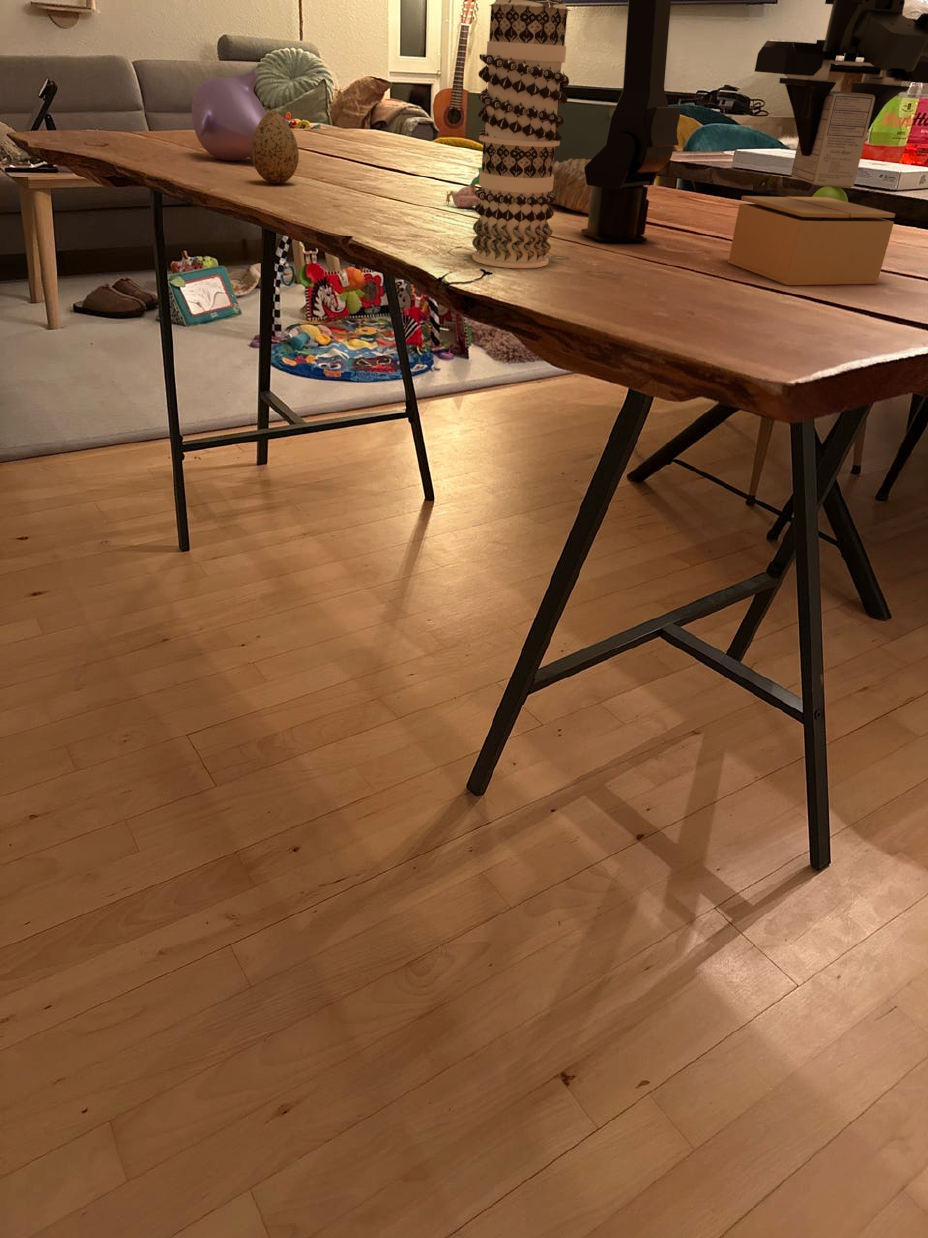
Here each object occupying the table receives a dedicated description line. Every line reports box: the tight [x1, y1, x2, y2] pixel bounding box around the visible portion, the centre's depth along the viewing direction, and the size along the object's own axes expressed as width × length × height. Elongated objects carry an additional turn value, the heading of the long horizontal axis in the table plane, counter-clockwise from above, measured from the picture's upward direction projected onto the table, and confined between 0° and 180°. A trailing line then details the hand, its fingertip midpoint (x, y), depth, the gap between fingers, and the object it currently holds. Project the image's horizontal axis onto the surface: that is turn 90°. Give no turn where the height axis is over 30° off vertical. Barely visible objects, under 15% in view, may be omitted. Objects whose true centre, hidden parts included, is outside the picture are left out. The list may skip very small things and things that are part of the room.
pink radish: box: [445, 166, 482, 209], centre depth 131 cm, size 6×6×15 cm
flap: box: [741, 195, 849, 218], centre depth 102 cm, size 6×12×1 cm, turn 18°
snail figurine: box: [811, 137, 868, 202], centre depth 136 cm, size 5×6×12 cm
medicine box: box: [790, 90, 875, 189], centre depth 99 cm, size 8×4×9 cm, turn 1°
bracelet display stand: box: [471, 0, 572, 269], centre depth 97 cm, size 9×9×25 cm
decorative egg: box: [251, 110, 300, 185], centre depth 143 cm, size 7×7×10 cm
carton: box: [728, 196, 896, 286], centre depth 104 cm, size 12×12×7 cm
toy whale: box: [191, 70, 289, 162], centre depth 163 cm, size 14×25×16 cm, turn 46°
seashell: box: [551, 157, 592, 215], centre depth 137 cm, size 14×9×10 cm
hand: (826, 156), depth 100 cm, fingers closed on medicine box, 5 cm apart
